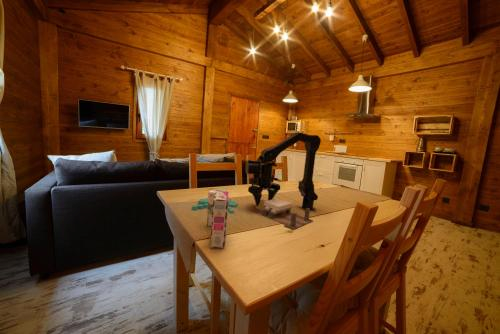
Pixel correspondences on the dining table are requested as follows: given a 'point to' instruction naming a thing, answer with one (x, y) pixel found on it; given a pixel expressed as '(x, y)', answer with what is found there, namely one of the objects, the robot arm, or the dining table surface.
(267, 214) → the roller bed
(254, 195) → the robot arm
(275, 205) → the slab
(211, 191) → the syrup box
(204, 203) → the alien figure
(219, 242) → the candy bar box
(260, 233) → the dining table surface
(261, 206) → the support block
